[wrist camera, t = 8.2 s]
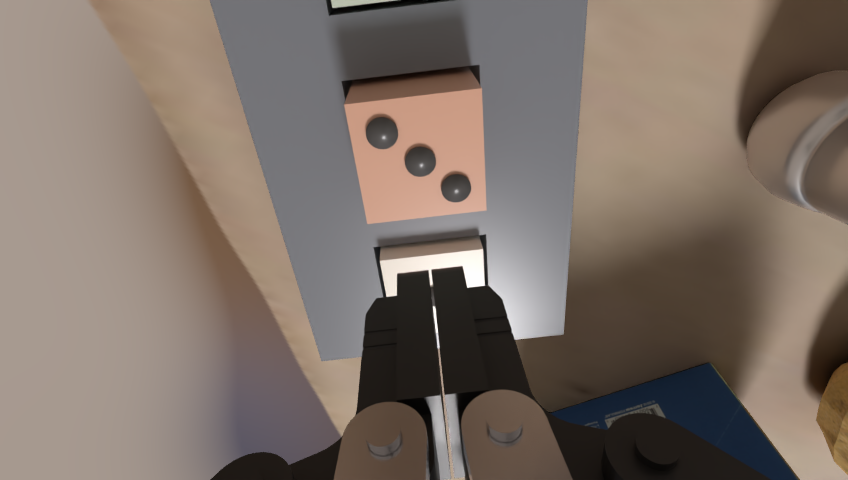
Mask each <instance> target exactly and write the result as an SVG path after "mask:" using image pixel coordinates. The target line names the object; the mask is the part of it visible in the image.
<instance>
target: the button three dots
mask: <svg viewBox="0 0 848 480" xmlns="http://www.w3.org/2000/svg"><path fill="white" fill-rule="evenodd" d="M344 107H345V112H346V117H347V122H348V127H349V132H350V138H351V143H352V148H353V153H354V158H355V163H356V168H357V174H358V179H359V184H360V189H361V194H362V199H363V204H364V209H365V215H366V220H367V224H373V223H382V222H391V221H399V220H408V219H417V218H425V217H434V216H443V215H452V214H460V213H469V212H478V211H486V210H487V207H486V181H485V155H484V129H483V103H482V87H481V86H480V84H479V83H478V81H477V80H476V78H475V76H474V75H473V73H472V72H471V70H470V69H469V67H468V66H464V67H455V68H447V69H438V70H430V71H422V72H413V73H405V74H397V75H388V76H380V77H372V78H363V79H355V80H353V81H352V84H351V87H350V90H349V92H348V95H347V98H346V101H345V103H344Z"/></svg>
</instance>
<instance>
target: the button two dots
mask: <svg viewBox="0 0 848 480" xmlns="http://www.w3.org/2000/svg"><path fill="white" fill-rule="evenodd" d="M387 1H395V0H331V3H332V8H337V7H346V6H354V5H362V4H370V3H378V2H387Z"/></svg>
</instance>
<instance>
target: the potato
mask: <svg viewBox="0 0 848 480" xmlns="http://www.w3.org/2000/svg"><path fill="white" fill-rule="evenodd" d="M816 421H817V423H818V424H819V426H820V428H821V430H822V432H823V434H824V437H825V439H826V442H827V444H828V447H829V449H830V452H831V454H832V457H833V459H834V461H835V463H836V464H837V465H838V466H839V467H840V468H841V469H842V470H843V471H844V472H845V473H846V474H847V475H848V363H845V364H842V365H841V366H840V367H839V368H838V369H836V370H835V371H834V372H833V374H832V376H831V378H830V380H829V382H828V385H827V387H826V389H825V391H824V393H823V396H822V399H821V402H820V405H819V408H818V413H817V418H816Z"/></svg>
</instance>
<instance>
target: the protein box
mask: <svg viewBox="0 0 848 480" xmlns="http://www.w3.org/2000/svg"><path fill="white" fill-rule="evenodd" d="M634 413H647V414H654V415H658V416H661V417H664V418H667V419H669V420H671V421H673V422H675V423H677V424H679V425H680V426H682V427H684V428H685V429H687V430H689V431H691V432H692V433H694V434H696V435H697V436H699V437H701V438H702V439H704V440H706V441H707V442H709V443H711V444H712V445H714V446H716V447H717V448H719V449H721V450H722V451H724V452H726V453H728V454H729V455H731V456H733V457H734V458H736V459H738V460H739V461H741V462H743V463H744V464H746V465H748V466H749V467H751V468H753V469H754V470H756V471H758V472H760V473H761V474H763V475H765V476H766V477H768V478H770V479H771V480H800V479H799V478H798V477H797V475H796V474H795V473H794V471H793V470H792V469H791V467H790V466H789V465H788V463H787V462H786V461H785V460H784V458H783V457H782V456H781V454H780V453H779V452H778V450H777V449H776V448H775V446H774V445H773V444H772V442H771V441H770V440H769V438H768V437H767V436H766V434H765V433H764V432H763V430H762V429H761V428H760V426H759V425H758V424H757V423H756V421H755V420H754V419H753V417H752V416H751V415H750V413H749V412H748V411H747V409H746V408H745V407H744V406H743V404H742V403H741V402H740V400H739V399H738V398H737V396H736V395H735V393H734V392H733V391H732V390H731V388H730V387H729V386H728V384H727V383H726V382H725V380H724V379H723V378H722V376H721V375H720V374H719V372H718V371H717V370H716V368H715V367H714V366H713V364H711V363H707V364H704V365H701V366H697V367H694V368H691V369H688V370H685V371H682V372H679V373H675V374H672V375H669V376H666V377H663V378H660V379H656V380H653V381H650V382H647V383H644V384H641V385H638V386H634V387H631V388H628V389H625V390H622V391H619V392H615V393H612V394H609V395H606V396H603V397H600V398H596V399H593V400H590V401H587V402H584V403H581V404H577V405H574V406H571V407H568V408H565V409H562V410H558V411H555V412H552V413H550V414H552V415H553V416H555V417H557V418H559V419H561V420H564V421H567V422H570V423H574V424H578V425H583V426H589V427H594V428H600V429H605V430H608V428H609V427H610V426H611V424H612V423H613V422H614V421H616V420H617V419H619V418H620V417H622V416H625V415H628V414H634Z"/></svg>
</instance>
